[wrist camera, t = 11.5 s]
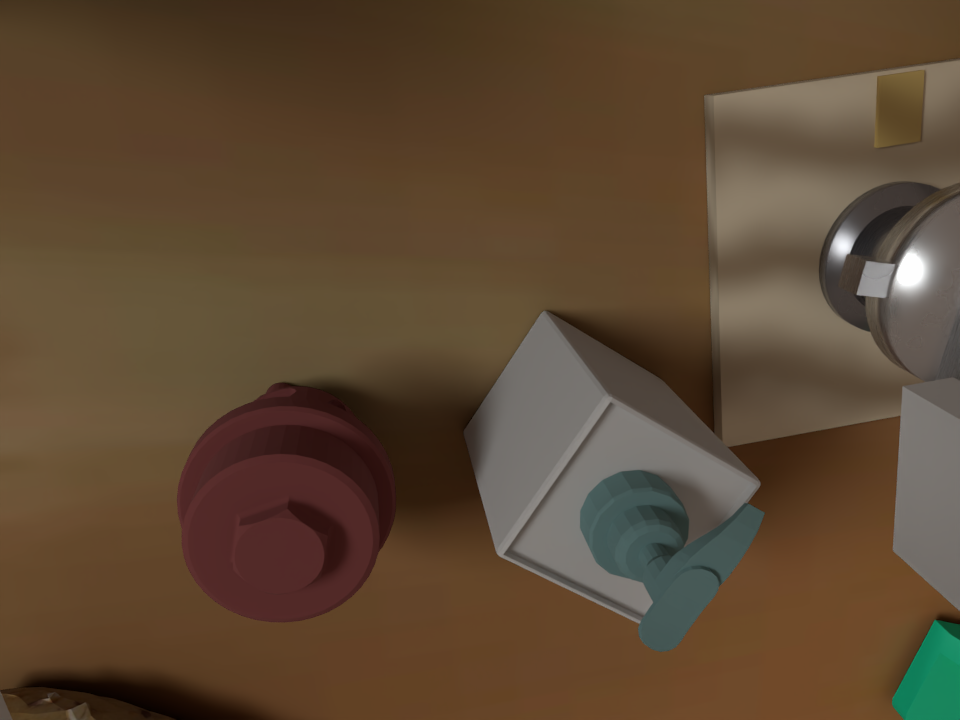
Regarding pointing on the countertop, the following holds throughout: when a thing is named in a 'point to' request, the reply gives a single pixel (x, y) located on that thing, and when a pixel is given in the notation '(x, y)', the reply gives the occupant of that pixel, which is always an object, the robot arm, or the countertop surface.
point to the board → (809, 238)
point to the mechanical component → (285, 505)
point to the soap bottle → (609, 482)
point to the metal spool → (863, 240)
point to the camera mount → (933, 677)
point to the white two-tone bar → (915, 288)
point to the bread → (70, 706)
